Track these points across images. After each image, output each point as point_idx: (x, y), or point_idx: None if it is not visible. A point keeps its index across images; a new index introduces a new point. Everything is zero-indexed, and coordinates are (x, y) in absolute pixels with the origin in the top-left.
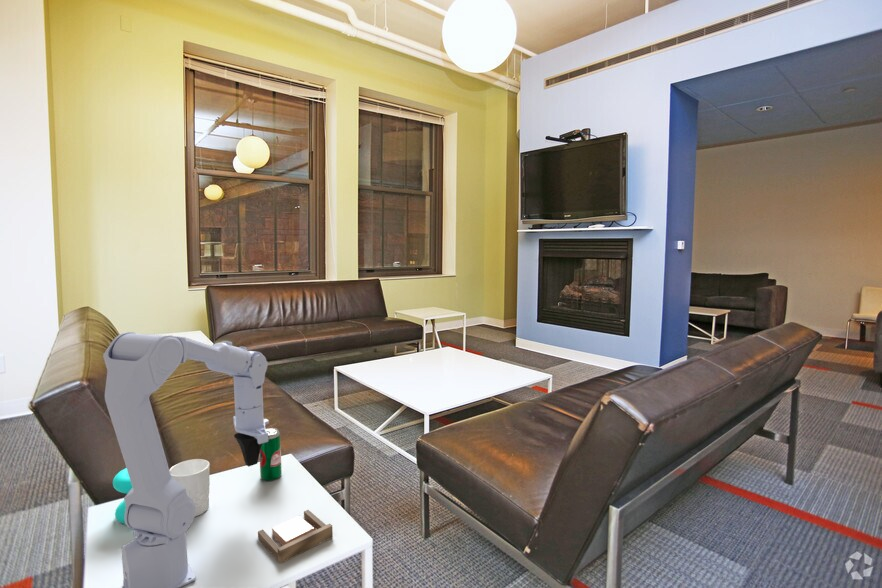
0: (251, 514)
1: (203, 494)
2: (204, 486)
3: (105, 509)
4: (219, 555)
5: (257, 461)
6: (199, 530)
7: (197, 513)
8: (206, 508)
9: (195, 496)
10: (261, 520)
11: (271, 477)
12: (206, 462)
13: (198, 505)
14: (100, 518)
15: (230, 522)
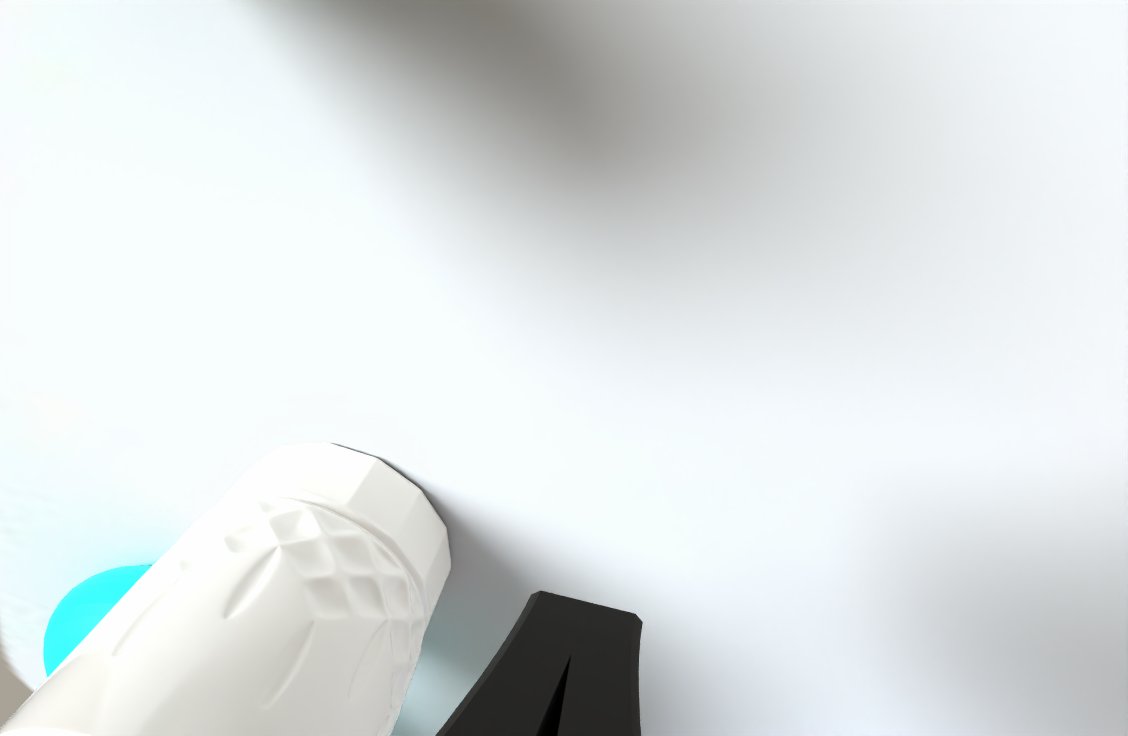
0: (765, 352)
1: (392, 631)
2: (355, 675)
3: None
4: (1020, 707)
5: (639, 647)
6: None
7: (445, 562)
8: (417, 500)
9: (402, 690)
10: (939, 359)
11: None
12: (96, 731)
13: (424, 600)
14: None
15: (722, 492)
